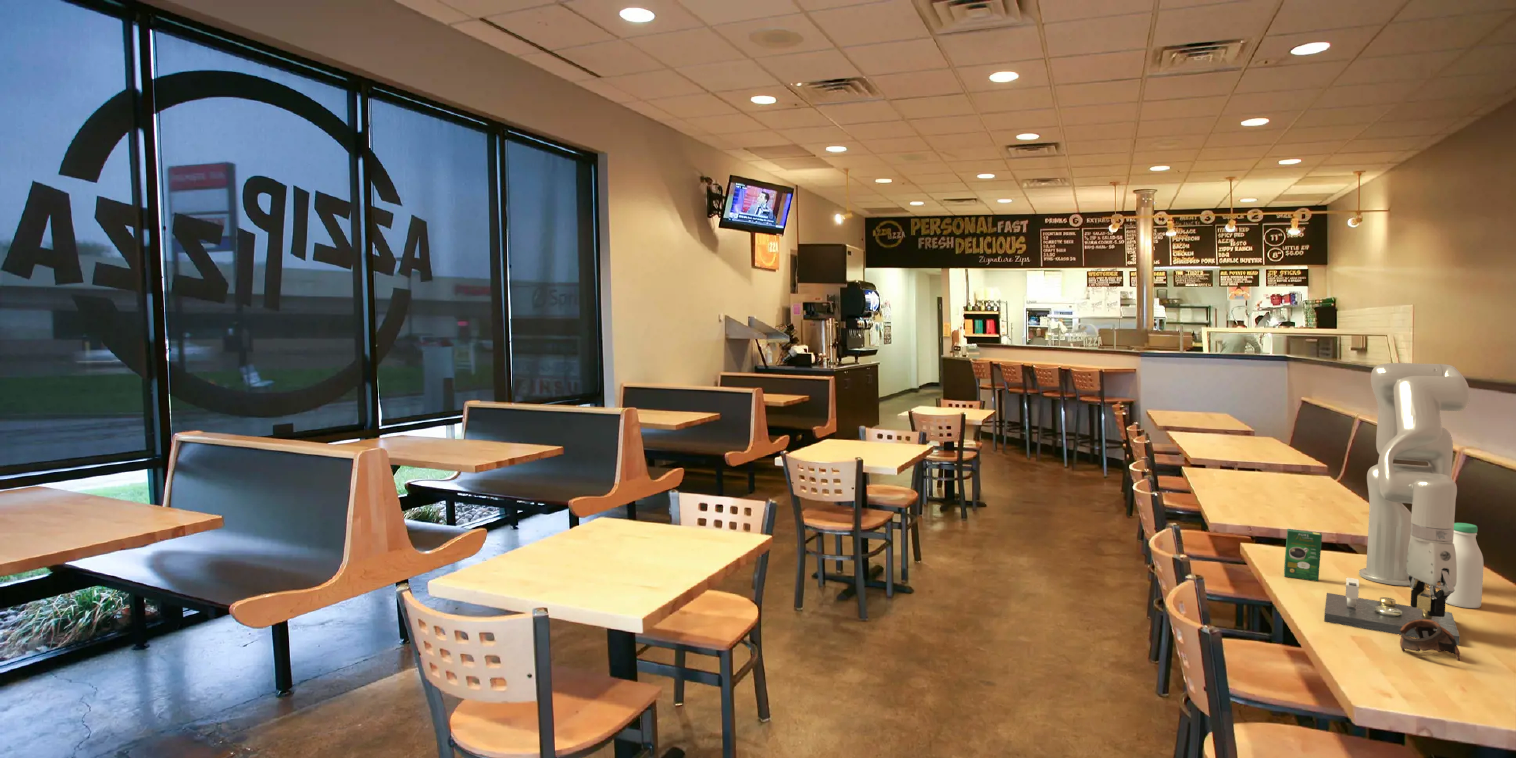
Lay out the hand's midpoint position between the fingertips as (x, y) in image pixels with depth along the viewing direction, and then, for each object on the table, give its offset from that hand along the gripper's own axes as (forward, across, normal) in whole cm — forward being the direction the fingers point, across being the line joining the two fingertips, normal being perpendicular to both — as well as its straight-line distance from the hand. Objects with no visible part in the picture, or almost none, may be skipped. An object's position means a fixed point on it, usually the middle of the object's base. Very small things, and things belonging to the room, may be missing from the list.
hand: (1427, 610), depth 187 cm
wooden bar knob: (+2, 0, 0) cm, 2 cm away
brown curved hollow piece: (+4, -16, +9) cm, 19 cm away
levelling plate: (+4, +3, +6) cm, 8 cm away
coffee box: (+4, +36, +9) cm, 37 cm away
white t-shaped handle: (+2, +7, +12) cm, 14 cm away
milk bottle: (+4, +19, -19) cm, 28 cm away
